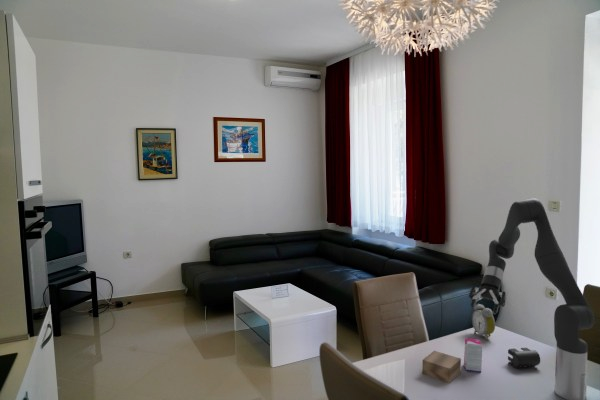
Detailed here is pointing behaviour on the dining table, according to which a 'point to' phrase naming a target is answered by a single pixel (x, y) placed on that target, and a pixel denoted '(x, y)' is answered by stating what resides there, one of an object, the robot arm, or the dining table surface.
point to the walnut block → (441, 366)
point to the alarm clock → (483, 321)
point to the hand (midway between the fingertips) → (483, 310)
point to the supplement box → (473, 355)
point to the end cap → (523, 358)
